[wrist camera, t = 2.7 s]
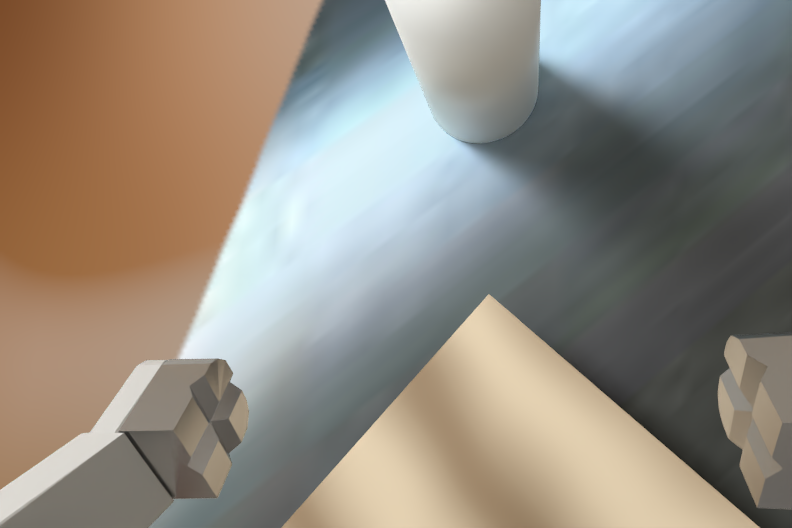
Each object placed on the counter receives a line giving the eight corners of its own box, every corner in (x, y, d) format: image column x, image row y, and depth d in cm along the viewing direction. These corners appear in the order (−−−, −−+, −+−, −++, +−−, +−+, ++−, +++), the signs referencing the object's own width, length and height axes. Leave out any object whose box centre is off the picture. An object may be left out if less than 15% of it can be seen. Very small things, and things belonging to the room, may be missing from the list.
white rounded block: (477, 21, 26) (452, -130, 18) (562, 79, 25) (577, -56, 17) (407, 102, 26) (351, -11, 18) (487, 164, 25) (465, 72, 17)
